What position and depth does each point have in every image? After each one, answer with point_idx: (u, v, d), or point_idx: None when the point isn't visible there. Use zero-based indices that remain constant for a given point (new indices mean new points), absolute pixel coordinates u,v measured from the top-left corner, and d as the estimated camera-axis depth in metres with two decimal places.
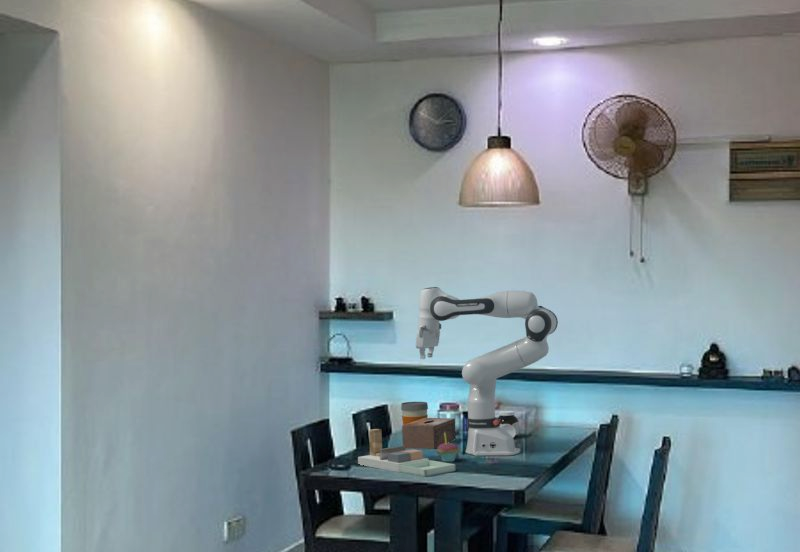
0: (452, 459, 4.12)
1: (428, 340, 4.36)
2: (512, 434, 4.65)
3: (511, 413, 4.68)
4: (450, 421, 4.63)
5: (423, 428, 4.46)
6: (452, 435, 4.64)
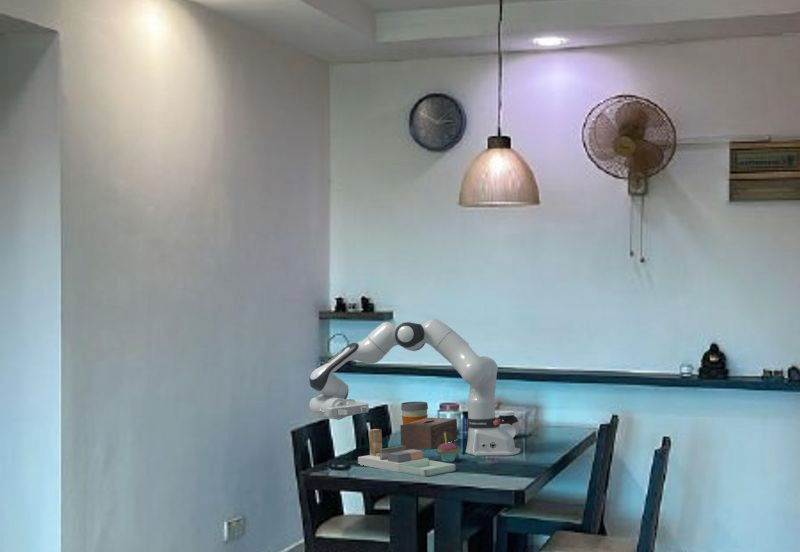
0: (452, 459, 4.12)
1: (337, 406, 4.27)
2: (512, 434, 4.65)
3: (511, 413, 4.68)
4: (451, 421, 4.62)
5: (420, 428, 4.47)
6: (453, 435, 4.63)
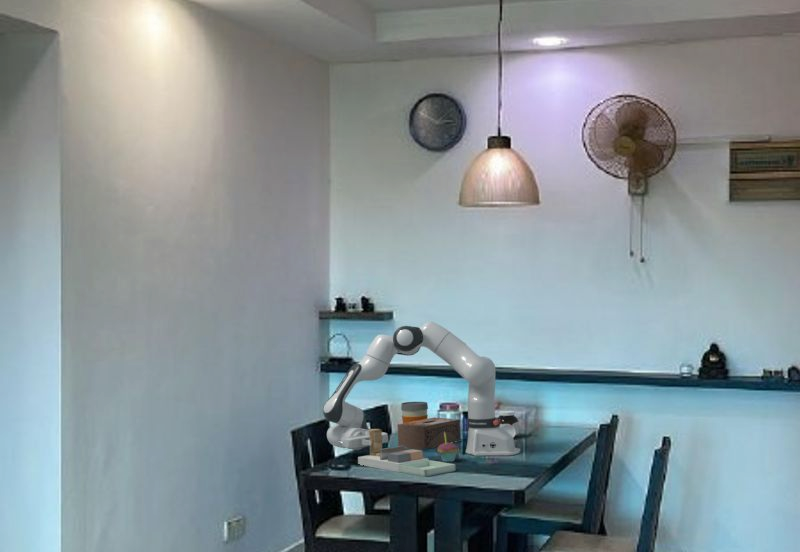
0: (452, 459, 4.12)
1: (356, 437, 4.18)
2: (512, 434, 4.65)
3: (511, 413, 4.68)
4: (452, 422, 4.60)
5: (415, 428, 4.48)
6: (455, 436, 4.61)
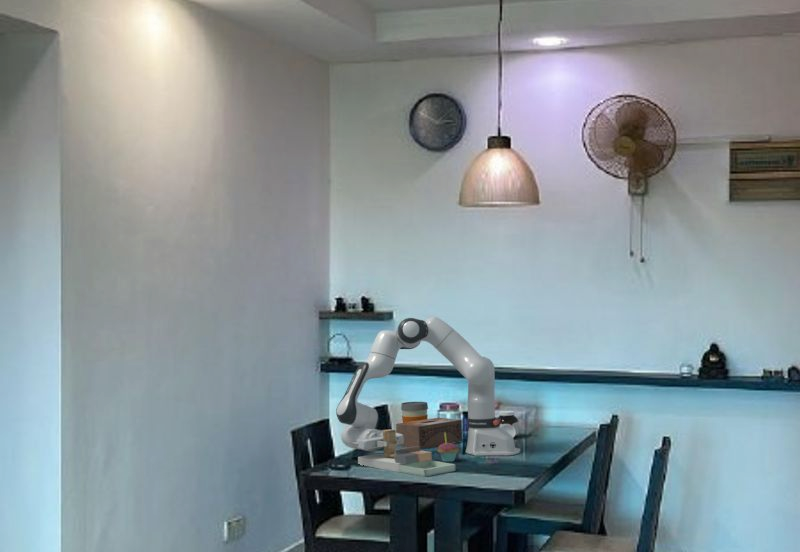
0: (452, 459, 4.12)
1: (372, 438, 4.11)
2: (512, 434, 4.65)
3: (511, 413, 4.68)
4: (452, 422, 4.58)
5: (411, 428, 4.49)
6: (455, 436, 4.60)
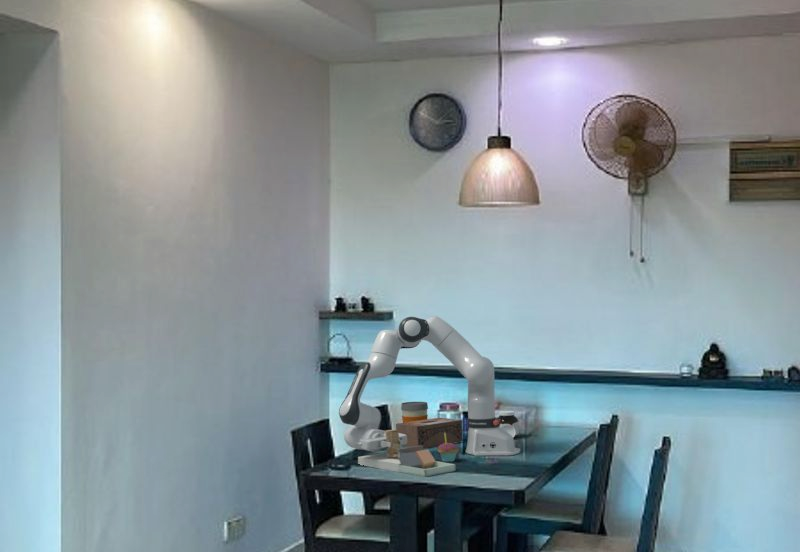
0: (452, 459, 4.12)
1: (375, 438, 4.09)
2: (512, 434, 4.65)
3: (511, 413, 4.68)
4: (452, 422, 4.58)
5: (410, 428, 4.49)
6: (456, 437, 4.59)
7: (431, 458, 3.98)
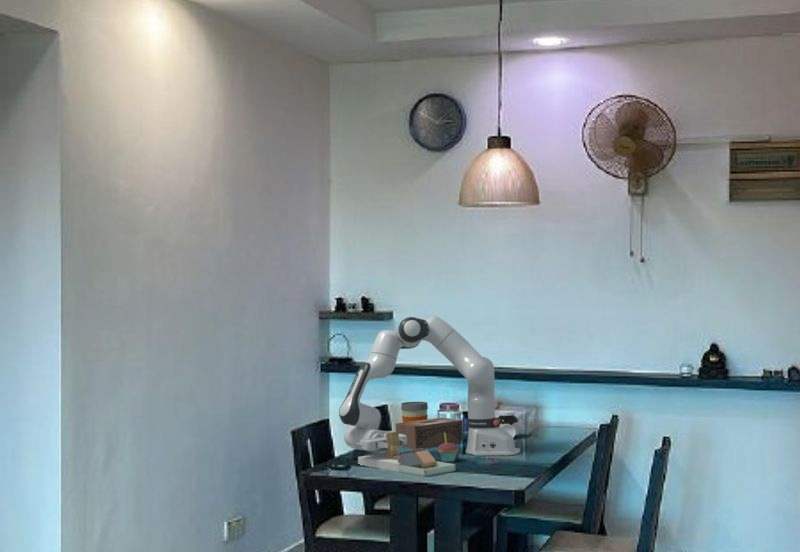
0: (452, 459, 4.12)
1: (375, 439, 4.09)
2: (512, 434, 4.65)
3: (511, 413, 4.68)
4: (452, 423, 4.57)
5: (408, 428, 4.49)
6: (456, 437, 4.58)
7: (431, 458, 3.98)
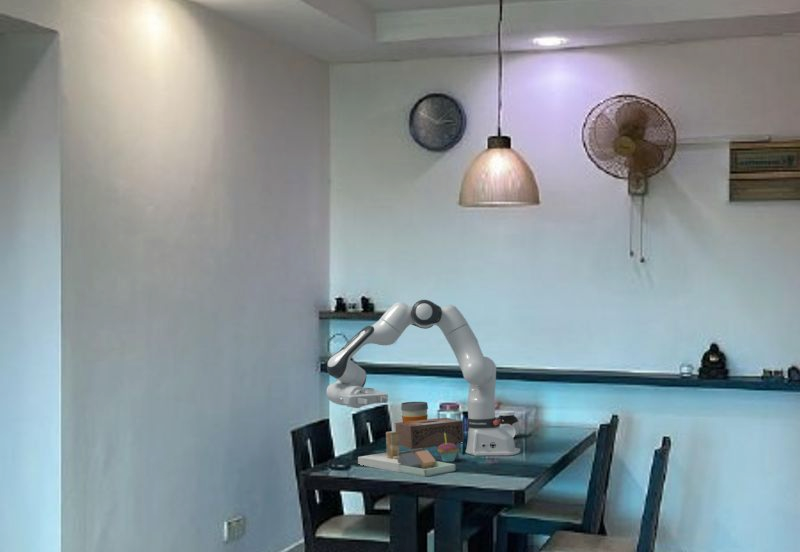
0: (452, 459, 4.12)
1: (357, 394, 4.18)
2: (512, 434, 4.65)
3: (511, 413, 4.68)
4: (451, 423, 4.56)
5: (405, 428, 4.51)
6: (455, 437, 4.57)
7: (431, 458, 3.98)
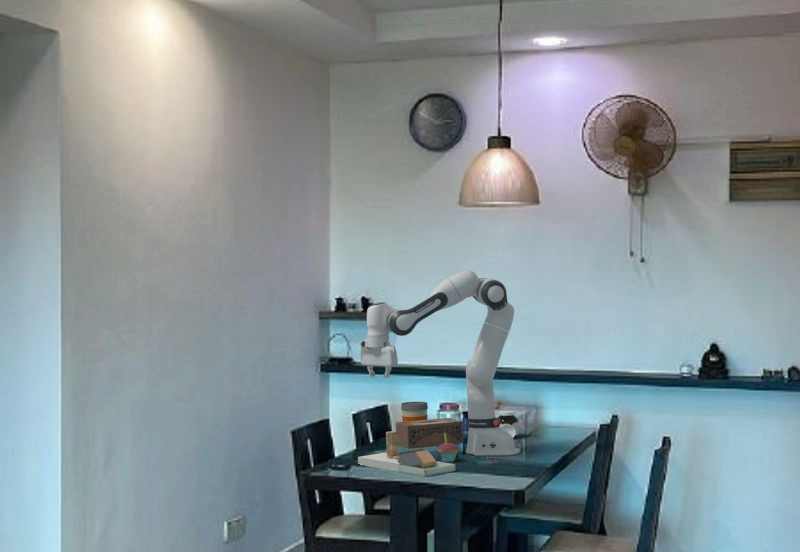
0: (452, 459, 4.12)
1: None
2: (512, 434, 4.65)
3: (511, 413, 4.68)
4: (450, 423, 4.55)
5: (403, 427, 4.52)
6: (455, 438, 4.55)
7: (431, 458, 3.98)
